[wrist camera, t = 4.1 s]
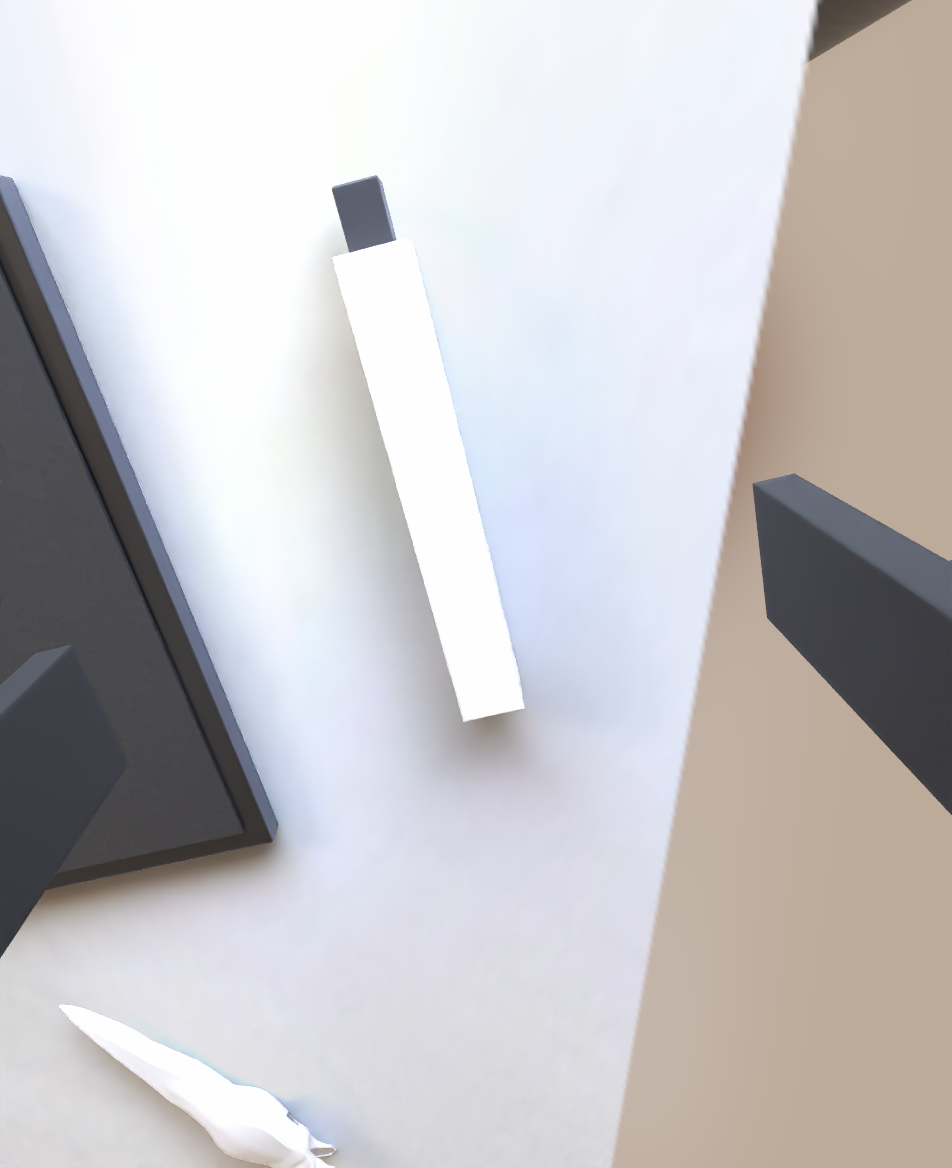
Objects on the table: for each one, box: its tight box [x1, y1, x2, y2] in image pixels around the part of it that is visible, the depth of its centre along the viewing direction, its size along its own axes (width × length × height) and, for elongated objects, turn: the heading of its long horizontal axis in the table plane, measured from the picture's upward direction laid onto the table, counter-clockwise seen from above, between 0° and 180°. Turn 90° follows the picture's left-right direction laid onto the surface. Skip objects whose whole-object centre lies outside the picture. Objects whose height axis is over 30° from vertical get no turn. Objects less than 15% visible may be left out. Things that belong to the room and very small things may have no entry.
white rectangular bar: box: [332, 176, 525, 722], centre depth 23 cm, size 2×16×2 cm, turn 14°
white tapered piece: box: [59, 1004, 336, 1168], centre depth 33 cm, size 15×3×2 cm, turn 43°
